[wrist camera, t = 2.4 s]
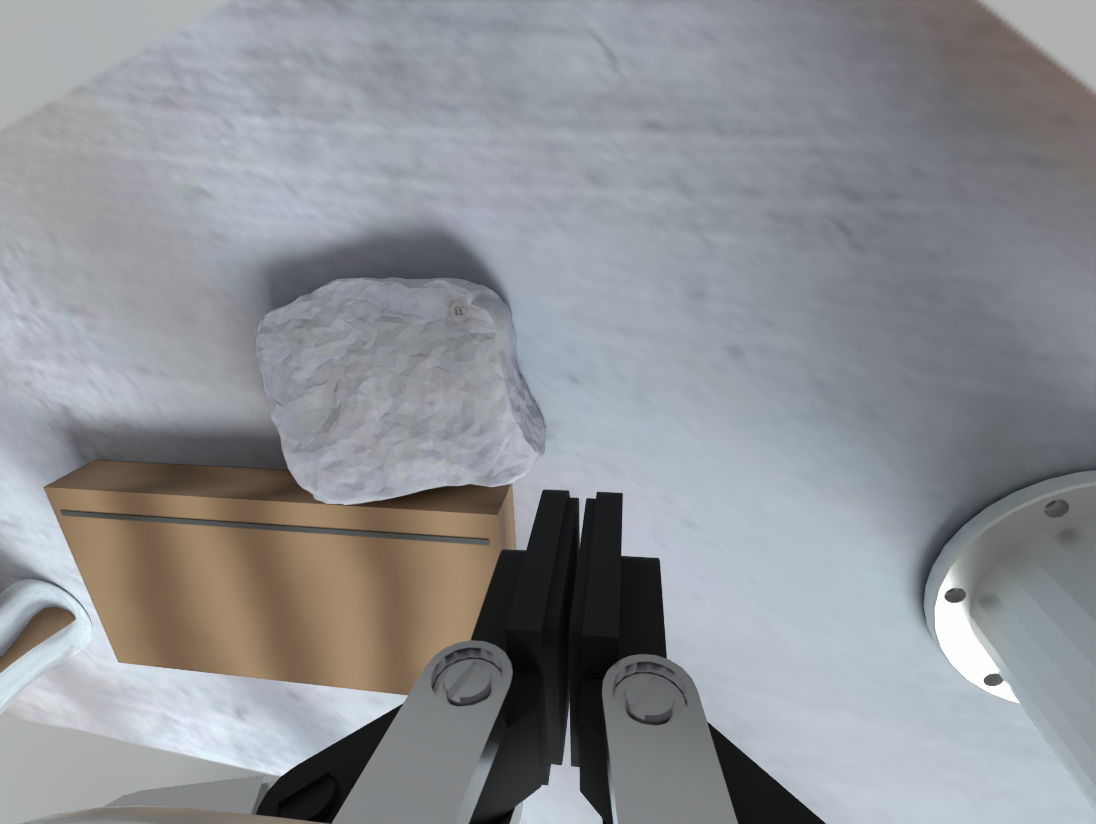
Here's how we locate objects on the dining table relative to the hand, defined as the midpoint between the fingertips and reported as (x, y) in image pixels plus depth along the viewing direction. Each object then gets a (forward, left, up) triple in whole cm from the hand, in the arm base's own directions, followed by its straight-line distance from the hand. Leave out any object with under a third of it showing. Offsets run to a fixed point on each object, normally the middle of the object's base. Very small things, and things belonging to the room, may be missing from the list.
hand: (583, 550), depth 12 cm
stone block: (+10, +1, -15) cm, 18 cm away
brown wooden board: (+17, +13, -14) cm, 26 cm away
